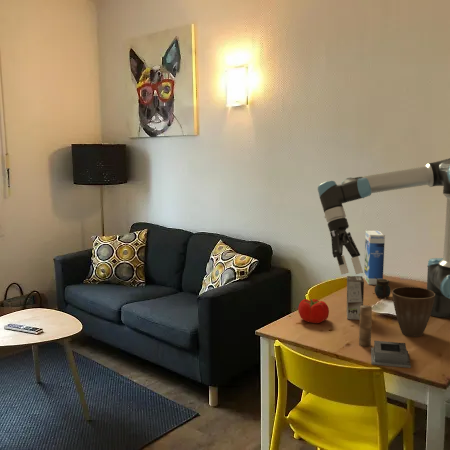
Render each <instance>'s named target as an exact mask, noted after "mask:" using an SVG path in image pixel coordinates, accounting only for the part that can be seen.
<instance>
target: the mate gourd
mask: <svg viewBox="0 0 450 450" xmlns="http://www.w3.org/2000/svg"><path fill="white" fill-rule="evenodd" d="M374 277H375V276H374ZM375 278H376V277H375ZM376 279H377V278H376ZM374 286H375V287H374V294H375V296H376V297H377V298H380V299H387V298H388V297H389V296H390V295H391V293H392V291H391V287H390V281H389V279H386V278H383V279H377V284H376V285H374Z"/></svg>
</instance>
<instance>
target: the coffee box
mask: <svg viewBox="0 0 450 450" xmlns="http://www.w3.org/2000/svg"><path fill="white" fill-rule="evenodd" d="M364 292H365V279H364V276H362V275H361V276H360V275H354V276H353V275H348V276H346V319H347V320H357V321H360V306H362V305H364V298H365V297H364Z"/></svg>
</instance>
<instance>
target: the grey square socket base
mask: <svg viewBox="0 0 450 450" xmlns="http://www.w3.org/2000/svg"><path fill="white" fill-rule="evenodd" d="M370 360H371V365H375V366H387V367H394V368H395V367H396V368H397V367H398V368H407V369H411V368H412V363H411V360H410V356H409V351H408V349H407V347H406V343H405V342H394V341H384V340H374V342H373V347H370Z"/></svg>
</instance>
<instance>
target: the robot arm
mask: <svg viewBox="0 0 450 450" xmlns="http://www.w3.org/2000/svg"><path fill="white" fill-rule="evenodd" d="M423 186H429V188H431V187H442V189H443V190H442V195H444V196H445V198H446V207H445V208H446V210H445V212H446V213H445V225H444V239H443V241H444V243H443V256H442V257H433V258H430V259H428V260H427V261H428V262H427V273H426V275H427V276H426V289H428V290H431V291H433V292H434V293H435V299H434V304H433V308H432V311H431V315H430V317H431V316H432V317H437V318H443V319H444V318H445V319H446V318H447V319H448V318H450V158H446V159H443V160H442V159H441V160H438V161H433V162H427V163H426V164H425V165H424V166H420V167H419V166H418V167H413V168H408V169H400V170H395V171H394V170H393V171H387V172H381V173H375V174H374V173H373V174H368V175H363V176H357V177H347V178H345V179H343V180H342V182H341V184H337V183H336V181H334V180H329V181H328V180H327V181H324V182H322V183H320V184H319V185H318V187H317V192H318V196H319V200H320V203H321V207H322V210H323V212H324V213H323V214H324V219H325V220H326V222H327V227H328V231H329V235H330V238H331V239H330V240H331V253H332V256H333V258H336V261H337V263H338V267H339V270H340V274H341V275H345V274H348V273H350V271H349V267H348V264H347V261H346V258H345V255H343V249H344V247H345V248H346V250H347V252H348V253H349V255H350V257H351V258H350V260H351V263H352V267H353V269H354V273H355V275H359V274H362V273H363V274H364V271H363V268H362V264H361V261H360V258H359V257H361V253H360V251H359V249H358V248H357V245H356V243H355V241H354V239H353V237H352V234H351V232H347V229H349V228H350V225H349V222H348V219H347V215H346V211H345V209H344V206H343V204H345V203H348V202H353V201H356V200H360V199H365V198H367V197H370V196H371V195H372V194H375V193H381V192H389V191H395V190H402V189H410V188H415V187H423Z"/></svg>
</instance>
